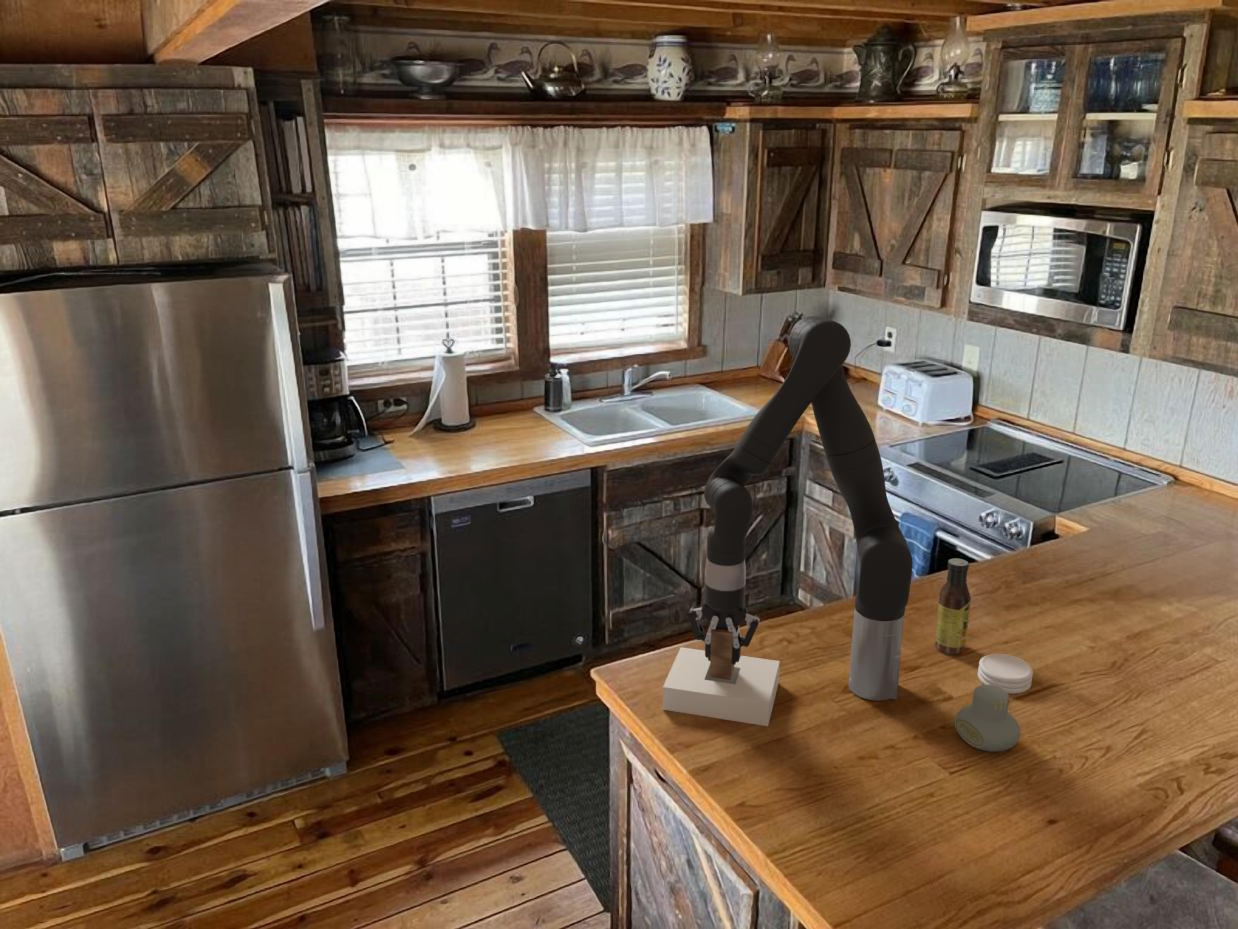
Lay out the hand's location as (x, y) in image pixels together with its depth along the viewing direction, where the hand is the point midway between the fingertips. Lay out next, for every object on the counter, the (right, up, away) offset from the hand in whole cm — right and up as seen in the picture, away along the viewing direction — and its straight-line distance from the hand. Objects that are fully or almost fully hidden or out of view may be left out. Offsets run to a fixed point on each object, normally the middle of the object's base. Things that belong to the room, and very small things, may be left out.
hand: (722, 660), depth 179 cm
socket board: (0, -7, +2) cm, 8 cm away
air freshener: (+46, -12, -12) cm, 49 cm away
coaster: (+57, -6, +7) cm, 58 cm away
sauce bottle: (+50, -1, +18) cm, 53 cm away
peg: (0, -3, +1) cm, 3 cm away
